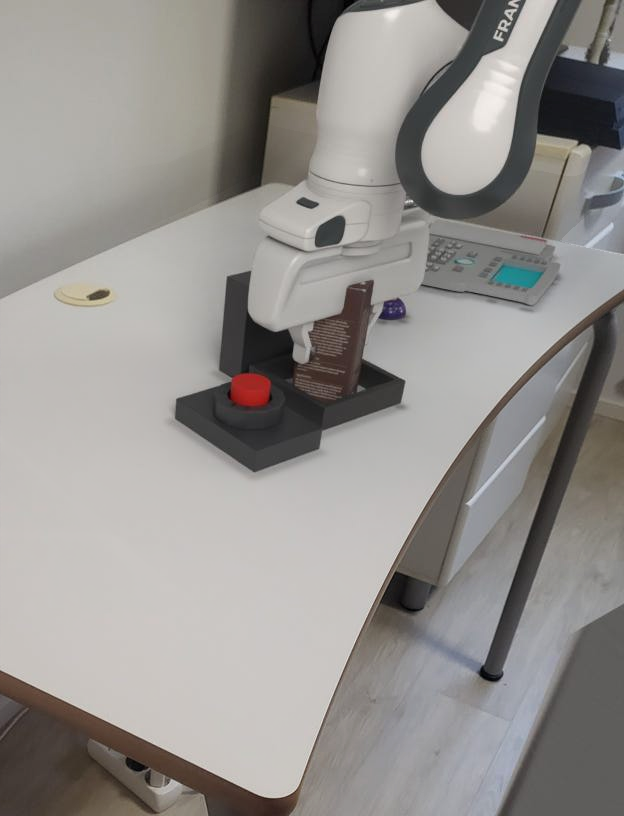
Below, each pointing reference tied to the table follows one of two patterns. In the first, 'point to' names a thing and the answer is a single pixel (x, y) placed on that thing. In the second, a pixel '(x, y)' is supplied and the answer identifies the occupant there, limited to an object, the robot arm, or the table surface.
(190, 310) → the table surface
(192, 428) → the block
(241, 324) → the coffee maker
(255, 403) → the power button
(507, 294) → the office telephone
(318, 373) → the box
